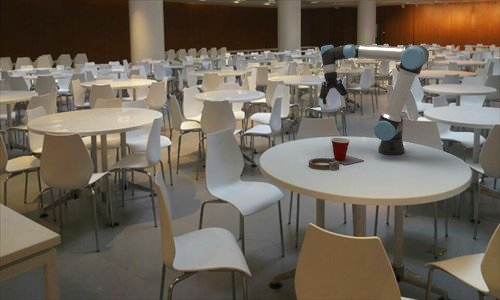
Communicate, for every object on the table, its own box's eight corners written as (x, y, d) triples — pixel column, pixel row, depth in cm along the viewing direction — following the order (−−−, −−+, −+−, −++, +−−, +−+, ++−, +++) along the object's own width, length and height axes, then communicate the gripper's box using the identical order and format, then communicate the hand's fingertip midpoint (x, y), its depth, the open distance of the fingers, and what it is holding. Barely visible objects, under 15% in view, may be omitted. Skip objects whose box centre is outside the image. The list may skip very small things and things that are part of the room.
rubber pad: (346, 156, 293) (346, 155, 293) (363, 161, 281) (363, 160, 281) (328, 160, 285) (328, 159, 285) (345, 165, 274) (345, 164, 274)
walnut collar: (324, 160, 285) (324, 153, 284) (346, 167, 270) (346, 160, 269) (303, 165, 277) (303, 158, 276) (324, 172, 262) (324, 165, 261)
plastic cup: (349, 162, 276) (350, 141, 274) (329, 162, 279) (330, 141, 276) (350, 157, 287) (350, 137, 284) (331, 157, 289) (331, 136, 286)
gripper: (341, 71, 303) (346, 106, 305) (309, 75, 290) (315, 111, 292) (350, 69, 297) (355, 105, 299) (318, 73, 283) (323, 110, 285)
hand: (335, 108), depth 295 cm, fingers open, 13 cm apart
